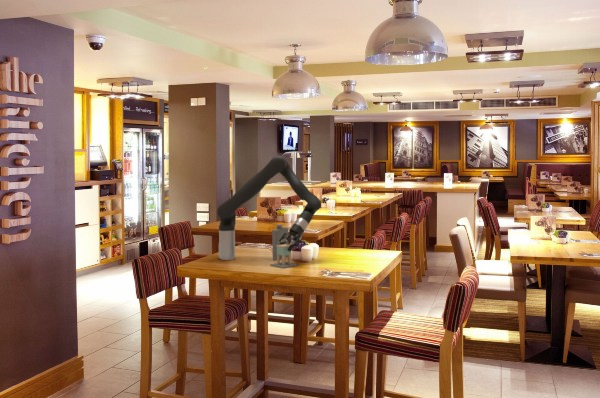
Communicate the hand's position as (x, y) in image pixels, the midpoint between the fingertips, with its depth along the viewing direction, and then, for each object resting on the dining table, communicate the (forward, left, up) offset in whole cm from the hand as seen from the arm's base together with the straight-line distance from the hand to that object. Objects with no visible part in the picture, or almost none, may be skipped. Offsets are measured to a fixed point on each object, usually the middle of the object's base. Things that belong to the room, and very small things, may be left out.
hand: (283, 249), depth 343 cm
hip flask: (-20, +14, -9) cm, 26 cm away
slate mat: (0, 0, -9) cm, 9 cm away
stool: (0, 0, -8) cm, 8 cm away
